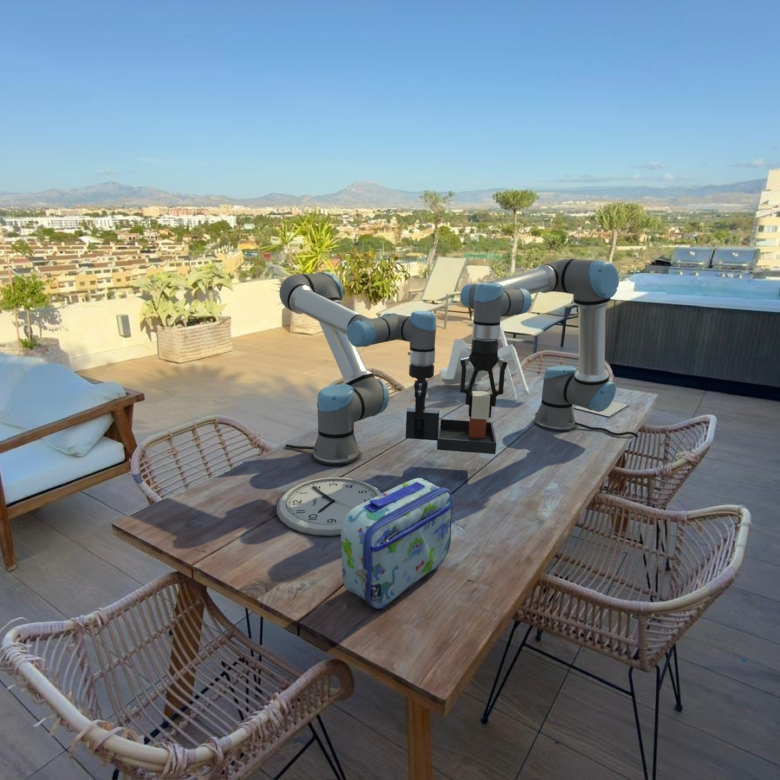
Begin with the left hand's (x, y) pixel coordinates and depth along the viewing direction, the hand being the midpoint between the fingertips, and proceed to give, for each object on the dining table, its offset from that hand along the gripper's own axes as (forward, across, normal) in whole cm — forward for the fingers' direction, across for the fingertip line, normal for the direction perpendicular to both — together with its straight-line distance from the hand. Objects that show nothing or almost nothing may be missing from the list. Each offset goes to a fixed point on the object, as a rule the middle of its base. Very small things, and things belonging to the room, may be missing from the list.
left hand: (419, 435), depth 164 cm
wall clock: (+11, +28, -22) cm, 37 cm away
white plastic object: (+11, -83, +23) cm, 87 cm away
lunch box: (+10, +57, 0) cm, 58 cm away
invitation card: (+10, -71, +75) cm, 104 cm away
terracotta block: (0, -4, +18) cm, 18 cm away
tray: (+1, 0, +10) cm, 10 cm away
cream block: (-9, +4, +18) cm, 20 cm away
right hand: (-9, +4, +18) cm, 21 cm away
